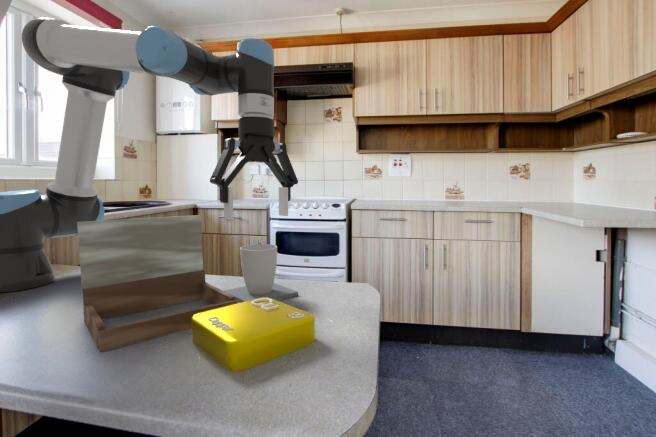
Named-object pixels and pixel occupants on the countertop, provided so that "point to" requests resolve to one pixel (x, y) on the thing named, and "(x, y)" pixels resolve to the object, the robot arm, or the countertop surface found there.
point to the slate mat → (276, 294)
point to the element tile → (252, 332)
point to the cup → (259, 267)
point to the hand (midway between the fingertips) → (257, 217)
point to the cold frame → (142, 276)
